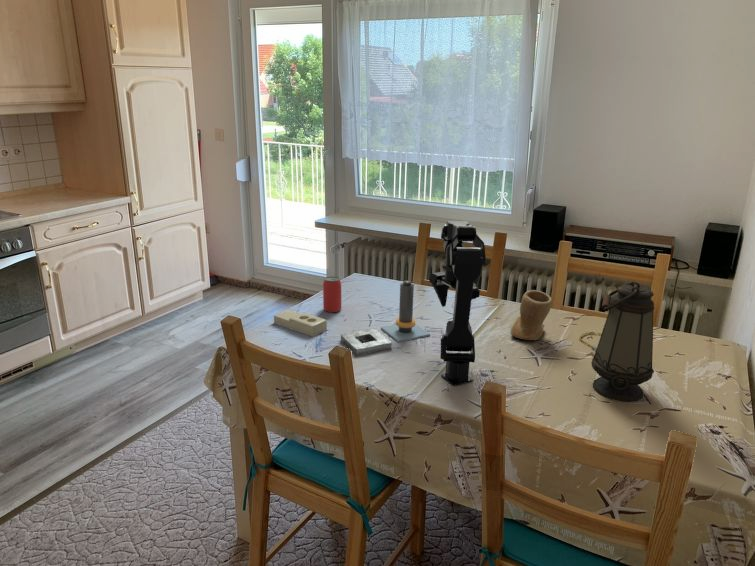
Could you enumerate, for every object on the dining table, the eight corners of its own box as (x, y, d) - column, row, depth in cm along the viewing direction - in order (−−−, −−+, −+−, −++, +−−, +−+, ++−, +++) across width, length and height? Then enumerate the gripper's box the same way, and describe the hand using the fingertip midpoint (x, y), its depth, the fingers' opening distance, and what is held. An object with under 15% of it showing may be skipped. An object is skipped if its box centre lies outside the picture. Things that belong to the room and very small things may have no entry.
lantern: (649, 413, 137) (671, 300, 127) (585, 399, 143) (601, 290, 133) (649, 381, 153) (669, 279, 143) (591, 369, 159) (606, 270, 149)
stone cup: (543, 346, 173) (549, 302, 168) (506, 339, 178) (510, 295, 173) (551, 329, 186) (557, 287, 181) (516, 323, 191) (521, 282, 186)
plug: (418, 332, 180) (420, 283, 175) (401, 335, 178) (403, 285, 172) (408, 325, 186) (410, 277, 181) (392, 328, 183) (393, 280, 178)
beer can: (340, 313, 197) (340, 281, 193) (322, 312, 197) (321, 281, 193) (342, 306, 203) (342, 276, 199) (324, 306, 203) (323, 275, 200)
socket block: (391, 348, 170) (391, 342, 169) (356, 355, 165) (356, 349, 164) (374, 333, 180) (374, 328, 179) (340, 340, 175) (340, 334, 174)
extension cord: (575, 350, 172) (576, 345, 171) (581, 333, 185) (582, 327, 184) (617, 359, 167) (618, 353, 166) (620, 340, 180) (621, 334, 179)
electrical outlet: (289, 307, 192) (327, 319, 182) (289, 317, 193) (327, 330, 183) (273, 312, 186) (312, 326, 176) (274, 323, 188) (312, 337, 178)
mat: (430, 335, 180) (430, 333, 179) (398, 342, 174) (398, 340, 174) (411, 322, 190) (411, 321, 189) (380, 328, 184) (380, 327, 184)
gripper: (496, 267, 158) (492, 317, 163) (459, 252, 174) (456, 298, 179) (465, 272, 154) (461, 323, 159) (429, 255, 169) (427, 303, 174)
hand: (452, 311), depth 168 cm, fingers open, 9 cm apart
